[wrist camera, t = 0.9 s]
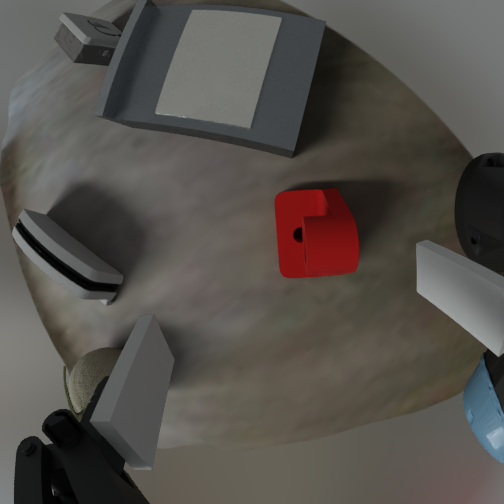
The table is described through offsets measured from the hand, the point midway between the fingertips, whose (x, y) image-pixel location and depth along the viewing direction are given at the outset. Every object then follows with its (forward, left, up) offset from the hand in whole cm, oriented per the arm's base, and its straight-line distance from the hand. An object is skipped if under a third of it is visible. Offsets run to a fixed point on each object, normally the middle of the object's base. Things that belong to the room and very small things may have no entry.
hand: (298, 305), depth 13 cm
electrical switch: (+29, -19, -18) cm, 39 cm away
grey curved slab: (+27, +9, -19) cm, 34 cm away
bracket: (-1, -1, -18) cm, 19 cm away
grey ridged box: (+12, -15, -18) cm, 26 cm away
